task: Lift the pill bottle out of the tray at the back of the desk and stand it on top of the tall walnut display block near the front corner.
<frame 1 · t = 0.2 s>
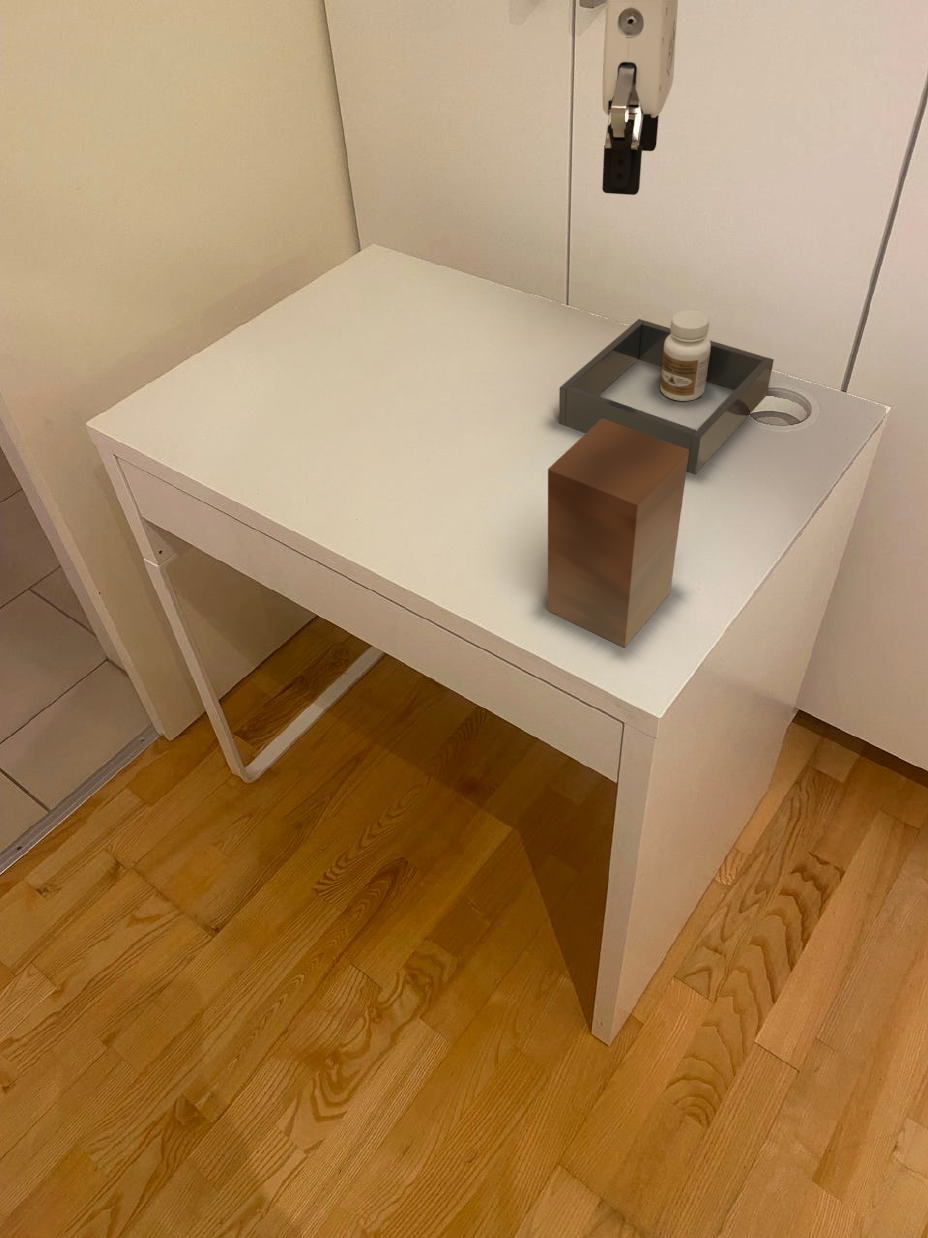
hand: (629, 170, 88), 18 cm above the table, tool pointing down, fingers open, 9 cm apart
tray: (663, 409, 93), on the table
display block: (609, 601, 75), on the table
pill bottle: (681, 391, 95), resting in tray
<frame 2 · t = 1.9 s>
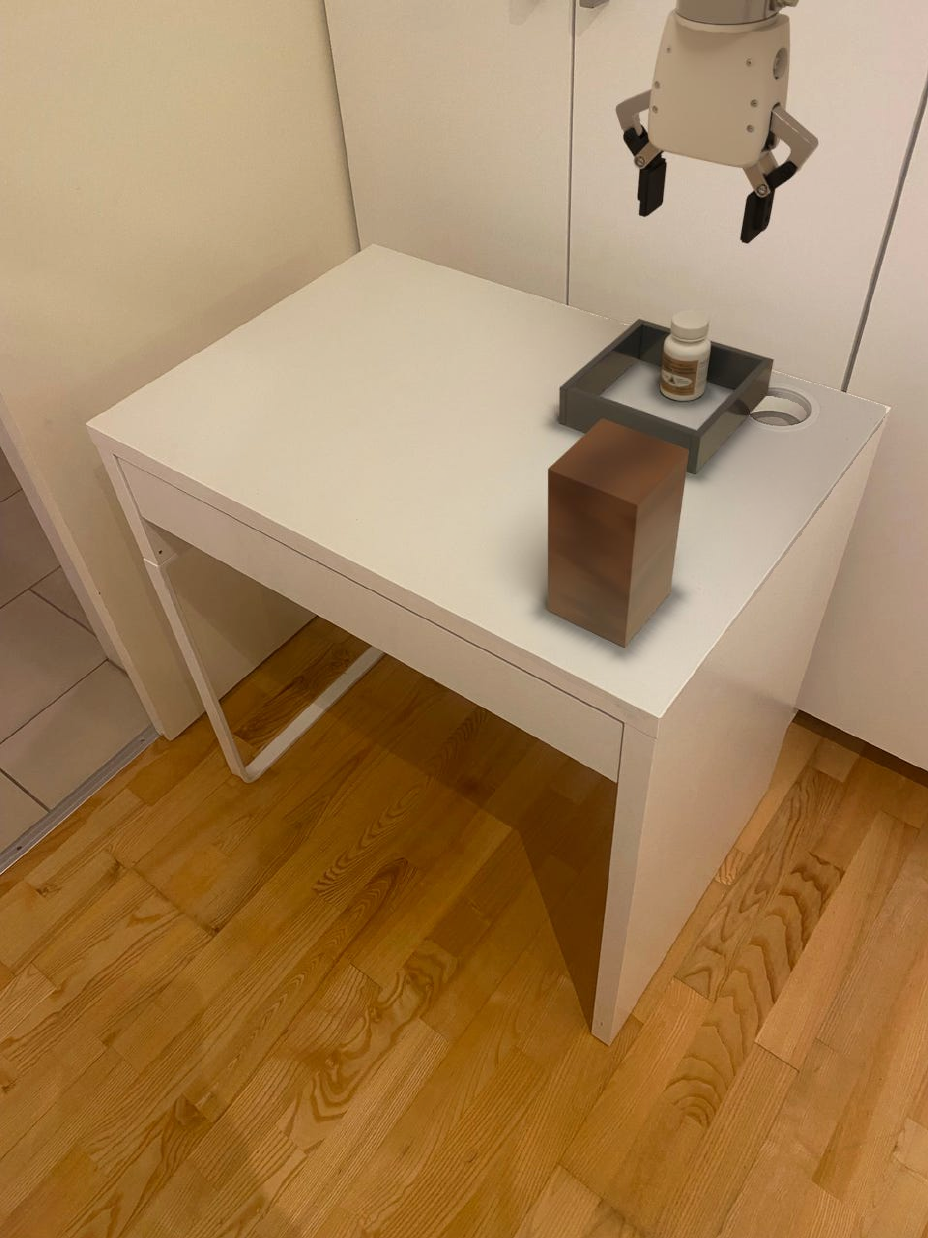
hand: (699, 223, 83), 17 cm above the table, tool pointing down, fingers open, 9 cm apart
nothing on the table moved.
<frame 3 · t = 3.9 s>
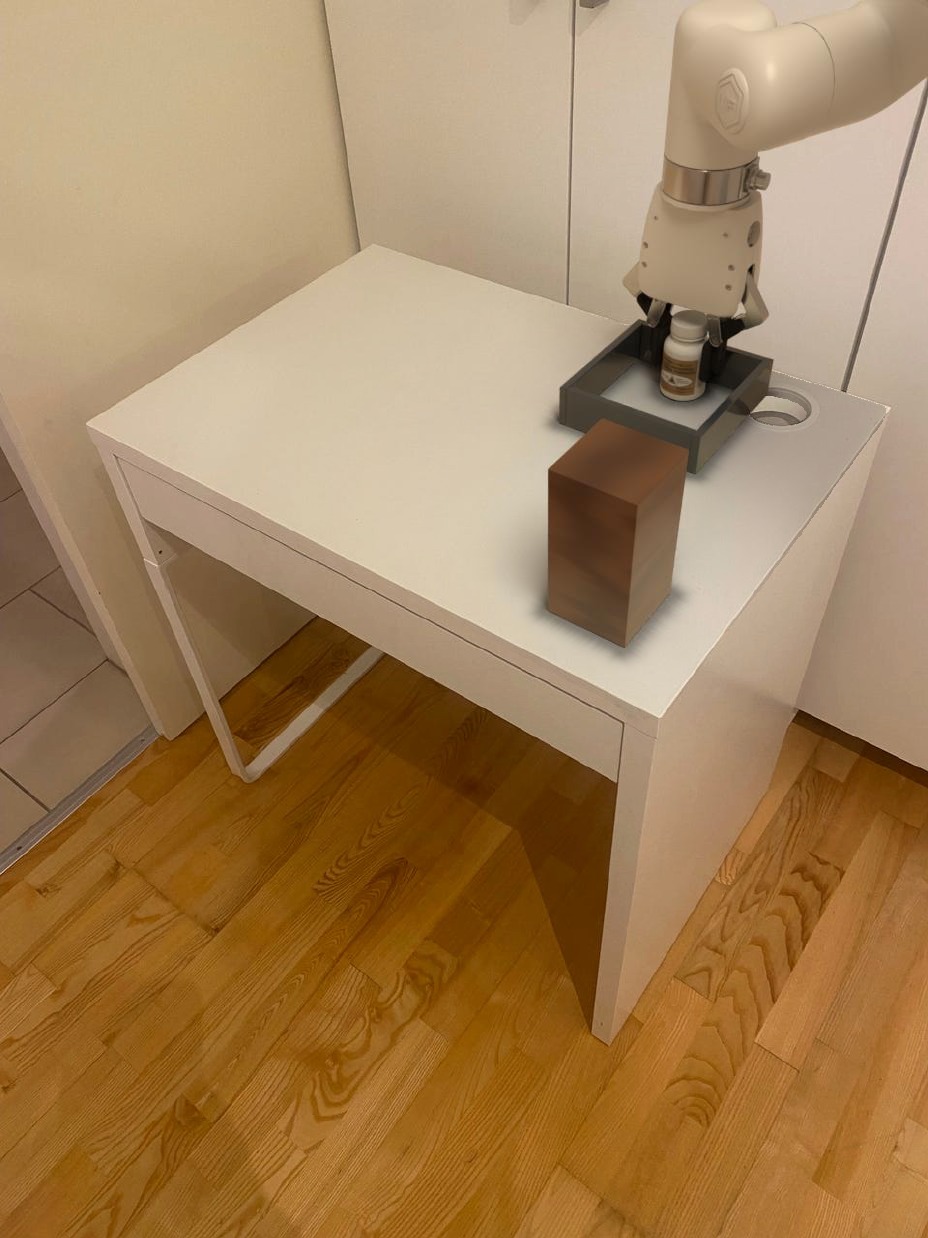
hand: (684, 365, 93), 3 cm above the table, tool pointing down, fingers closed on pill bottle, 4 cm apart
pill bottle: (681, 391, 95), resting in tray, touching gripper
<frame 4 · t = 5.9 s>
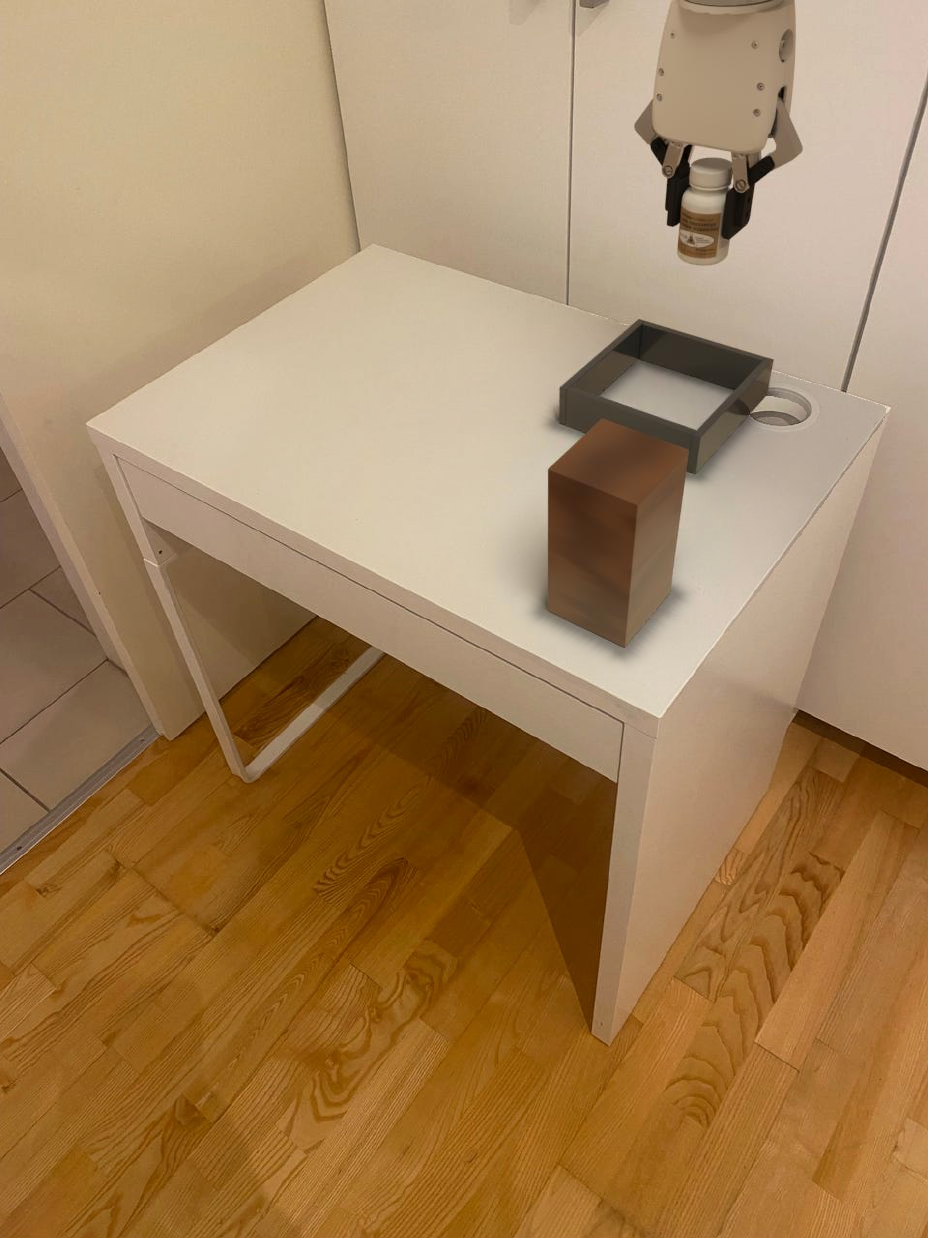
hand: (705, 224, 82), 17 cm above the table, tool pointing down, fingers closed on pill bottle, 4 cm apart
pill bottle: (701, 257, 84), point 14 cm above the table, touching gripper
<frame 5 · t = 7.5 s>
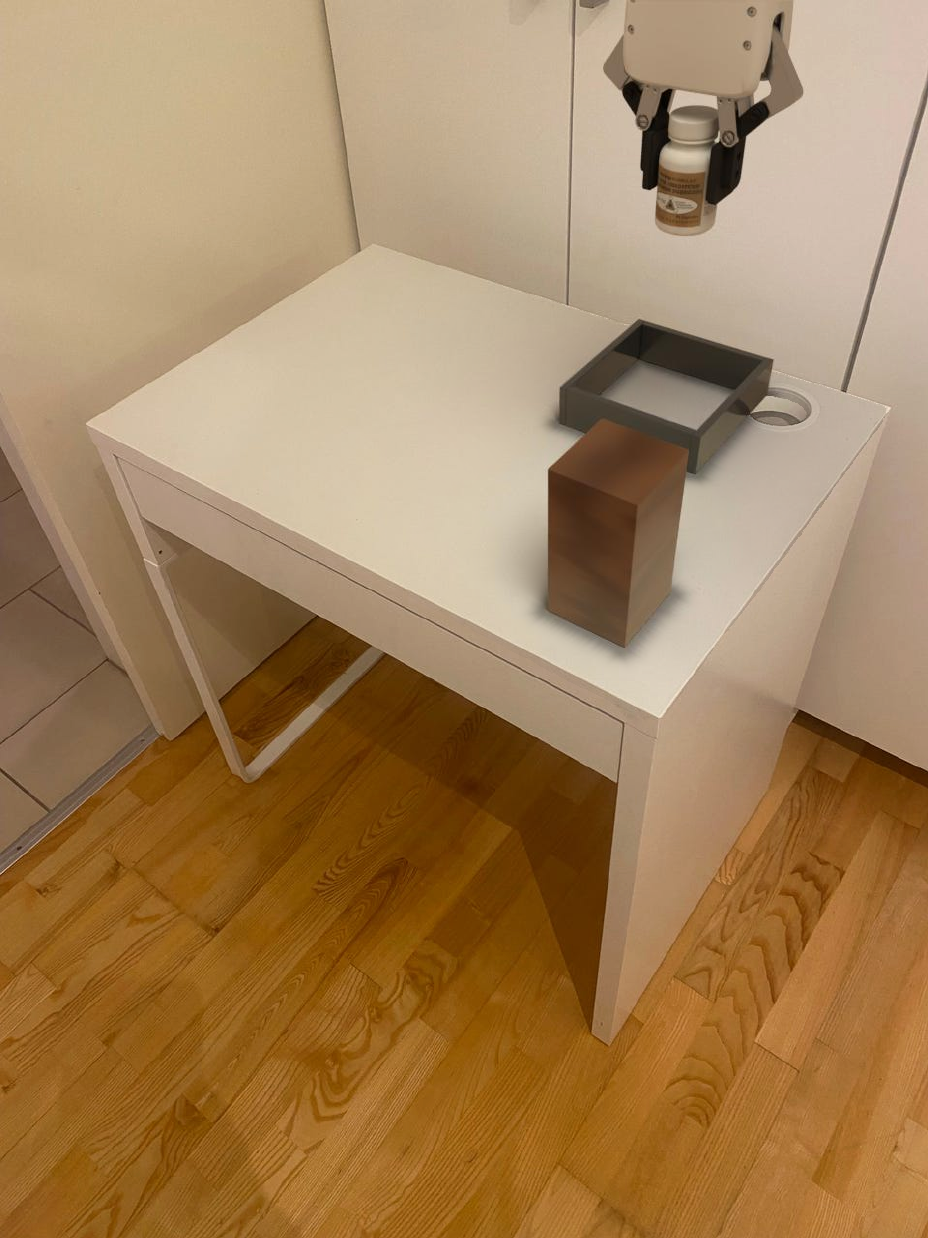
hand: (688, 187, 69), 25 cm above the table, tool pointing down, fingers closed on pill bottle, 4 cm apart
pill bottle: (684, 227, 71), point 22 cm above the table, touching gripper
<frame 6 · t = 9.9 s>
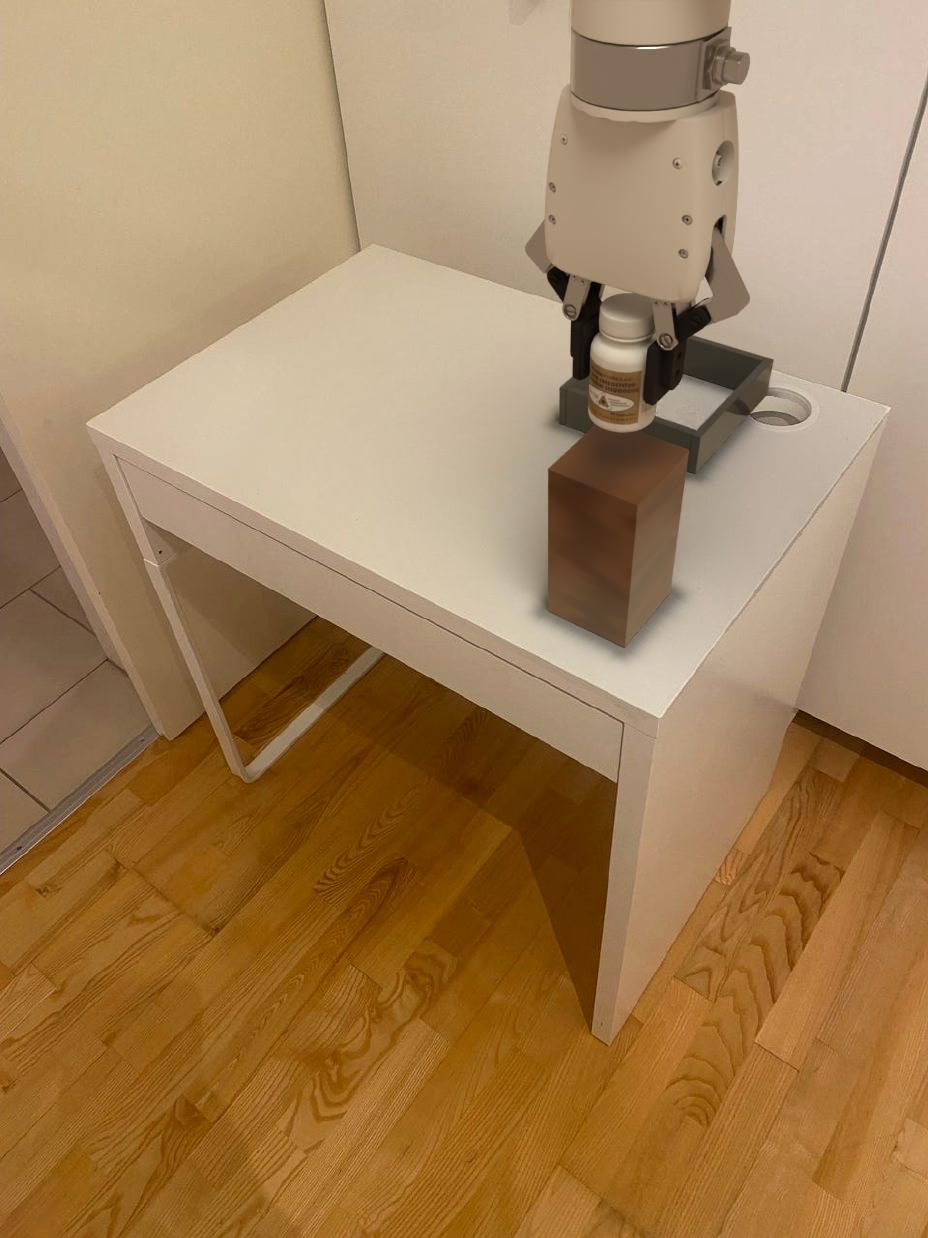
hand: (624, 378, 61), 20 cm above the table, tool pointing down, fingers closed on pill bottle, 4 cm apart
pill bottle: (621, 417, 63), point 17 cm above the table, touching gripper
when the fingers open (17 cm above the table, at t = 11.2 s): pill bottle stays where it is, resting on display block.
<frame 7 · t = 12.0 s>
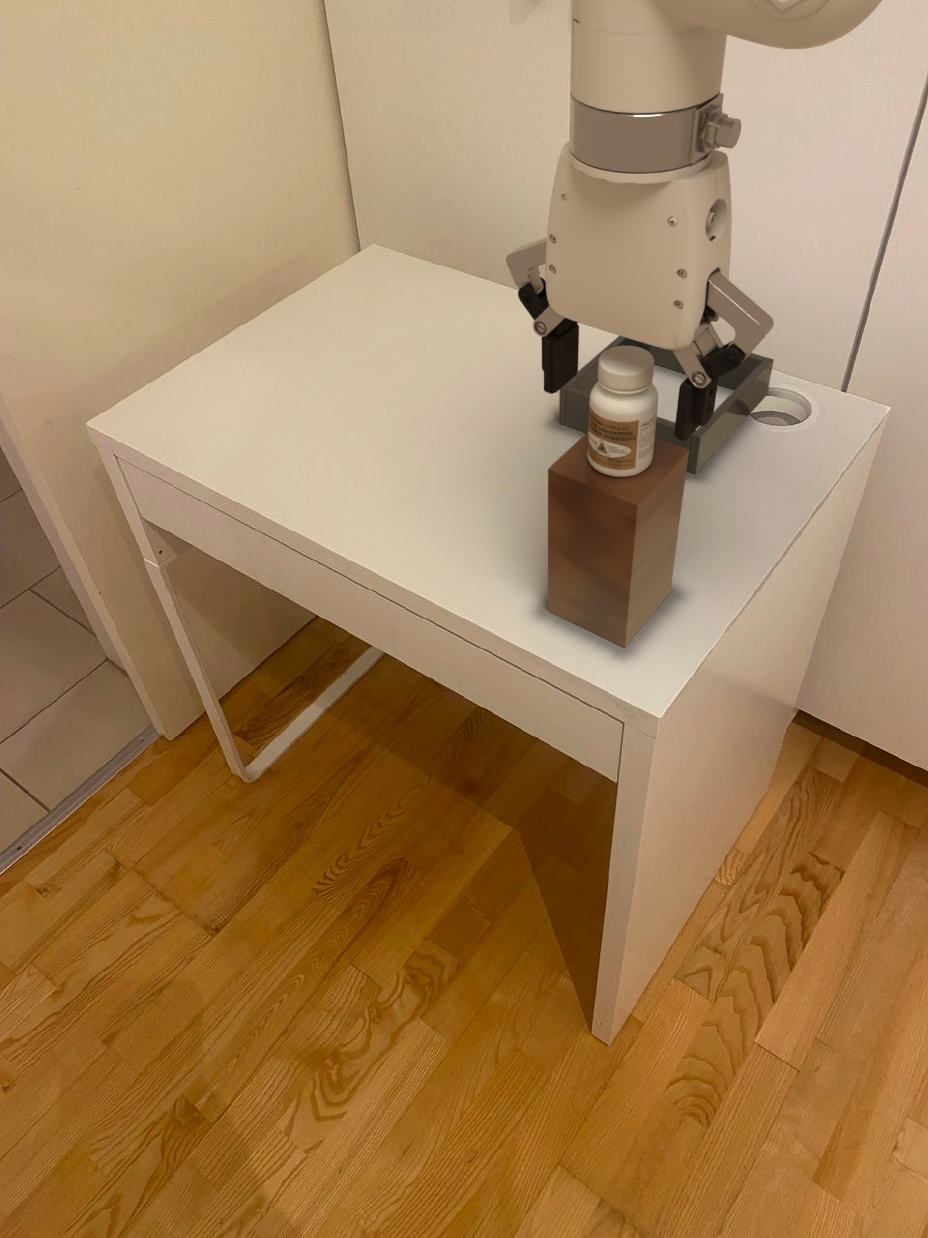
hand: (623, 405, 62), 18 cm above the table, tool pointing down, fingers open, 9 cm apart
pill bottle: (619, 461, 65), point 14 cm above the table, touching display block
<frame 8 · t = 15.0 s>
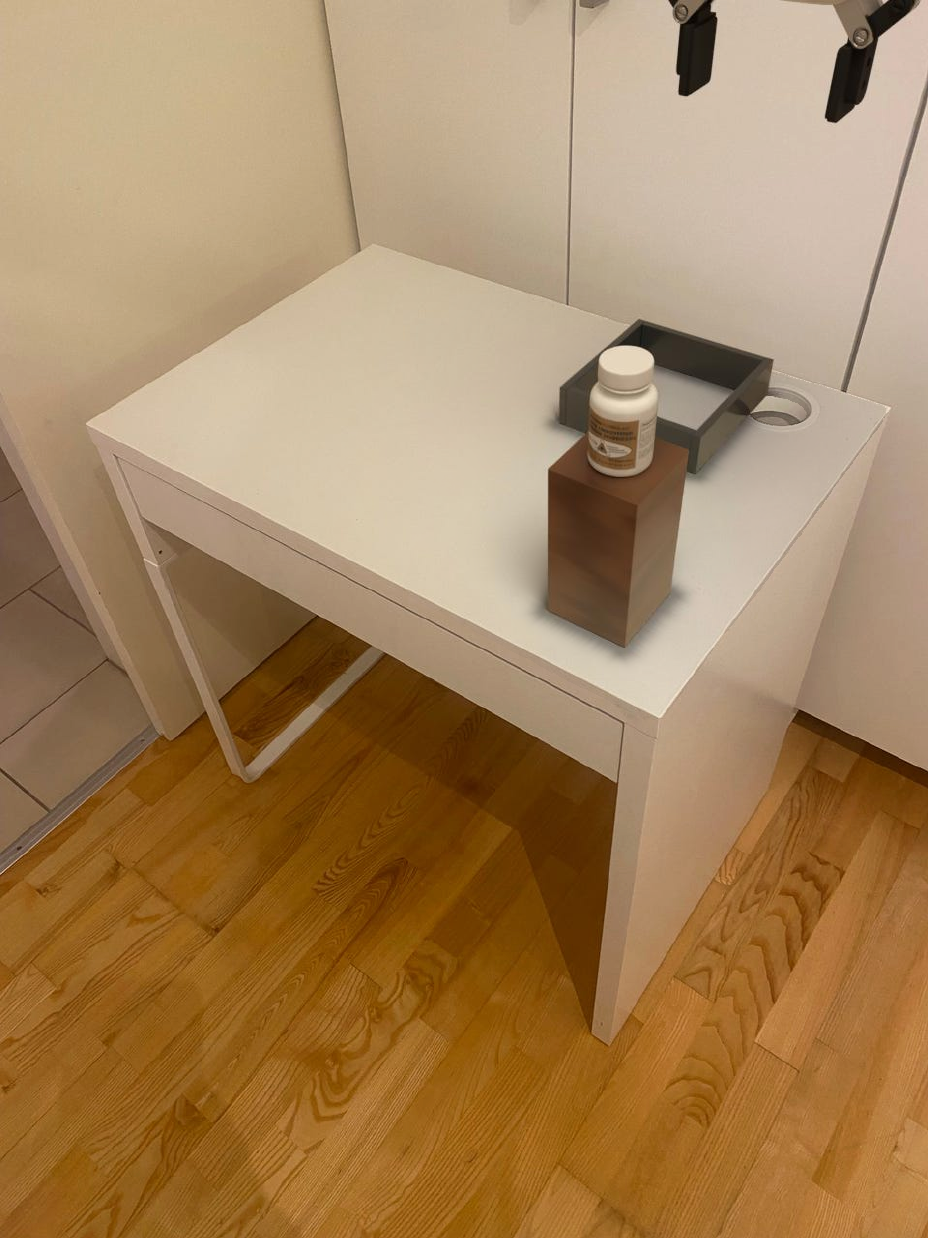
hand: (764, 101, 59), 32 cm above the table, tool pointing down, fingers open, 9 cm apart
nothing on the table moved.
at the end: pill bottle 0.1 cm off-centre on the display block, point 13.8 cm above the display block's base; pill bottle tilted 0°; pill bottle touching display block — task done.
